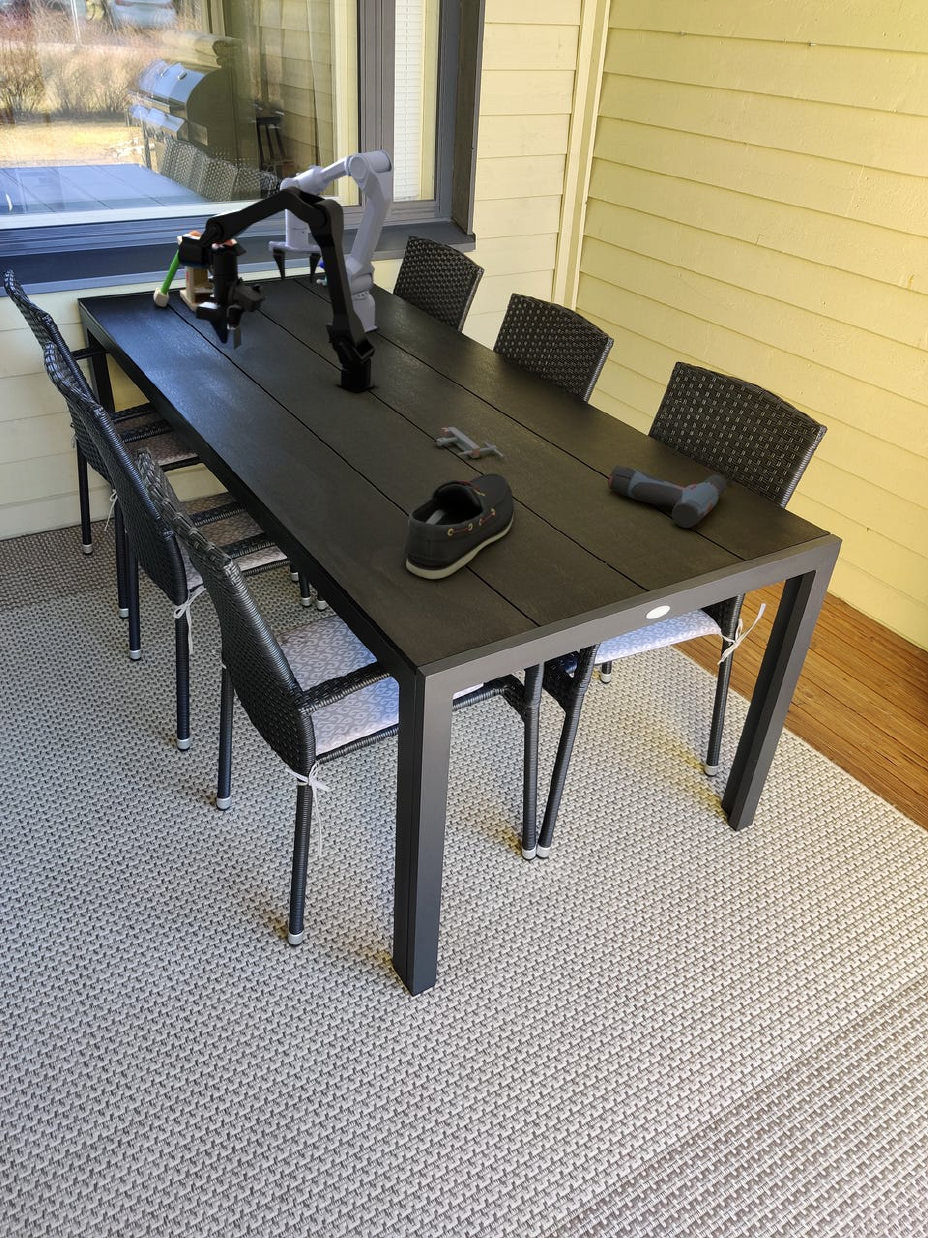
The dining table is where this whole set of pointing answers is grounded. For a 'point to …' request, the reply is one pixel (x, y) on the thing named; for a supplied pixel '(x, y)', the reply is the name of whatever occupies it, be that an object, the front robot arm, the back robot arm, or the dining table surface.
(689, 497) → the power drill
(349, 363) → the front robot arm
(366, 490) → the dining table surface
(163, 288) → the pounding bench toy
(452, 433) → the clamp
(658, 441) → the dining table surface
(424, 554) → the boat shoe
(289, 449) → the dining table surface
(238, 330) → the metal block
